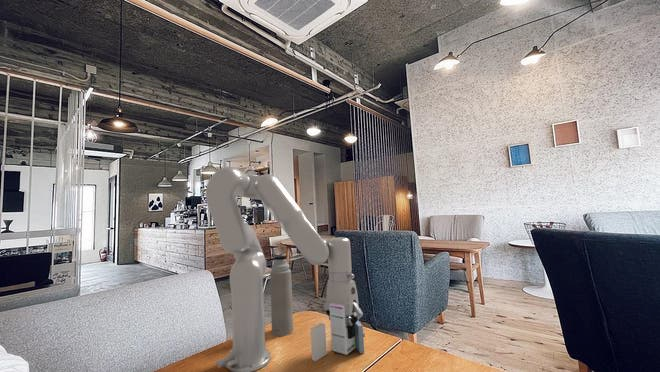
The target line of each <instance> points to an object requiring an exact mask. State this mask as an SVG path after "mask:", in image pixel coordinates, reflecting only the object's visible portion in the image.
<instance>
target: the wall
mask: <svg viewBox="0 0 660 372" xmlns="http://www.w3.org/2000/svg"><path fill="white" fill-rule="evenodd" d="M354 314H355V316H356V312H354ZM326 334H327V333H326V324H325V323H324V322H321V323H318V324H316V325H315V326H312V327H311V328H310V344H311V360H312V361H314V362H317V361H319V360H320V359H322V358H323V357H324V356H326V355H327V335H326Z"/></svg>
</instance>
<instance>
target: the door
mask: <svg viewBox="0 0 660 372" xmlns="http://www.w3.org/2000/svg"><path fill="white" fill-rule="evenodd" d="M355 330H356V348H355V349H356V350H357V351H358V352H359V354H363V353H365V343H364V342H365V341H364V339H365V337H366V334H365V332H364V326H363V324H362V323H361V322H360V320H358V321H357V322H356V323H355Z"/></svg>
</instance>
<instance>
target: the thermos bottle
mask: <svg viewBox="0 0 660 372" xmlns="http://www.w3.org/2000/svg"><path fill="white" fill-rule="evenodd" d="M287 257H288V256H287V255H277V256H274V257H273V264H272V266H271V271H270V272H269V273H270V274H269V275H270V277H269V278H270V279H269V280H270V282H269V283H270V311H271V312H270V313H271V314H270V315H271V334H272V335H273V336H275V337H284V336H288V335H291V334H292V333H293V331H294V318H293V317H294V315H293V312H294V310H293V287H292V284H293V283H292V269H290V264H289V263H288V262H287Z"/></svg>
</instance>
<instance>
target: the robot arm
mask: <svg viewBox="0 0 660 372" xmlns="http://www.w3.org/2000/svg"><path fill="white" fill-rule="evenodd" d="M236 197H241V198H246V199H252V200H257V201H258V200H260V201H261V203H263V205H264V207H266V209H267V210H268V211H269V213H270V214H271V216H273V219H274V220H276V222H277V223H278V225H279V226H280V228H281V229H282V230H283V231H284V232H285V234H286V235H287V236H288V238H289V239H290V240H291V242H292V243H293V245H294V246H295V247H296V248H297V249H298V251H299V253H300V254H301V255H302V257H303V258H304V259H305V260H306V262H308V263H309V264H310V265H312V266H313V265H314V266H320V265H323V264H324V263H326V262H327V267H328V280H327V284H326V301H325V302H324V304H323V305H322V308H323V310H324V311H325V313H326V315H327V316H328V320H329V321H330V303H335V304H340V305H343V306H344V309H345V315H346V316H347V320H348V323H349V325H348V326H347V330H348V339H351V338H353V337H354V336H355V334H356V330H355V323H356V322H357V321H360V319H361V318H362V317H363V316H364V313H363V311H362V309H361V308H360V306H359V304H360V303H359V296H358V289H357V285H356V282H355V280H354V279H355V274H353V271H352V252H351V241H350V239H349V238H347V237H344V236H343V237H341V236H339V237H332V238H323V237H321V236H320V234H319V233H318V232H317V231H316V229H315V228H314V226H313V225H312V224H311V223H310V221H309V220H308V218H307V216H305V213H304V211H303V210H302V209H301V207H300V205H298V203H297V202H296V201H295V199H294V198H293V197H292V195H291V194H290V193H289V192H288V190H287V189H286V188H285V186H284V185H283V184H282V183H281V181H280V180H279V179H278V177H277V176H275V175H273V174H271V173H270V174H269V173H268V174H267V173H266V174H263V175H256V174H255V175H254V174H250V173H244V172H243V171H241V170H240V169H238V168H236V167H232V166H224V167H221V168H220V169H217V171H215V172H214V173H213V174H212V175H211V177H210V179H209V180H208V182H207V185H206V188H205V199H206V203H207V207H208V210H209V212H210V216H211V219H212V221H213V223H214V227H215V229H216V232H217V236H218V238H219V241H220V244H221V247H222V248H223V250H224V251H225V252H226V253H228V254H231V255H233V257H234V260H235V261H234V263H233V264H232V266H231V269H230V273H229V285H230V293H231V318H232V319H231V326H232V327H231V329H232V348H231V349H229V350H228V351H229V352H228V354H227V355H226V356H225V357H223V358H220V359H218V360H216V366H217V367H216V368H217V369H220V368H223V367H224V366H225V367H226V368H227V369H228V371H230V372H255V371H257V370H260V369H262V368H263V367H265V366H267V364H268V363H269V362H270V361H271V351H269V350H268V349H267V348H266V333H265V331H266V325H265V324H266V323H265V319H266V318H265V298H264V296H265V294H264V293H265V292H264V280H263V279H264V278H263V277H264V274H265V272H266V270H267V261H266V257H265V254H264V251H263V249H262V246H261V244H260V242H259V238H258V235H257V234H256V232H255V230H254V228H253V227H252V226H251V225H250V224H248V223H245V220H244V217H243V215H242V213H241V210H240V207H239V205H238V203H237V201H236ZM354 312H356V316H355V314H354ZM351 317H352V319H351Z"/></svg>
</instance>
